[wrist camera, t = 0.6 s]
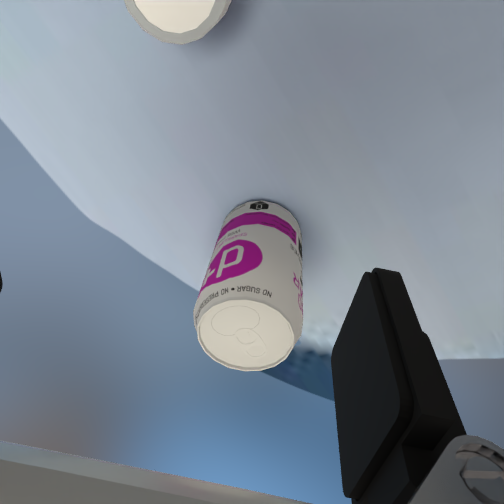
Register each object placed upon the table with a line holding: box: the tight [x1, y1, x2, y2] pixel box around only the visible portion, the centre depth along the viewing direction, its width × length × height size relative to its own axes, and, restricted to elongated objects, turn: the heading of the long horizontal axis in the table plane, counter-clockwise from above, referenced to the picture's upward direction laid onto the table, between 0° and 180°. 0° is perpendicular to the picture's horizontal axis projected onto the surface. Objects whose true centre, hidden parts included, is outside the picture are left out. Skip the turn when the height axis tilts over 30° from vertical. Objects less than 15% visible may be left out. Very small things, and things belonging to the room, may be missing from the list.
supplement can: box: [193, 201, 303, 371], centre depth 35 cm, size 8×8×15 cm
